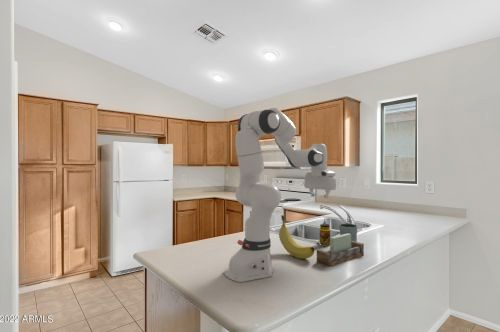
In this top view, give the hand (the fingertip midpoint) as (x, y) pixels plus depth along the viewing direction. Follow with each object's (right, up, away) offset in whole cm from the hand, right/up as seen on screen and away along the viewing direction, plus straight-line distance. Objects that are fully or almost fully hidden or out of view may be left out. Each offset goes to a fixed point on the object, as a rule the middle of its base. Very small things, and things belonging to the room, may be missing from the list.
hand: (319, 197), depth 151 cm
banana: (-15, -29, -12) cm, 35 cm away
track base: (+7, -29, -15) cm, 34 cm away
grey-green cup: (+19, -29, +7) cm, 35 cm away
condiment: (+5, -29, +10) cm, 31 cm away
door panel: (+7, -28, -15) cm, 32 cm away
